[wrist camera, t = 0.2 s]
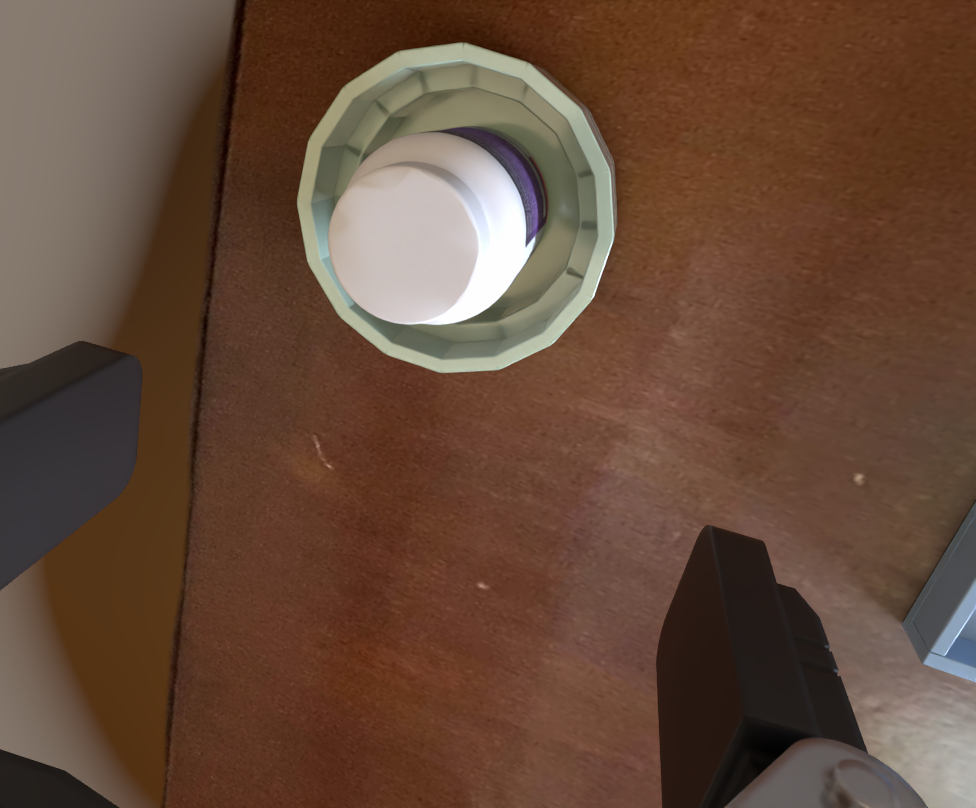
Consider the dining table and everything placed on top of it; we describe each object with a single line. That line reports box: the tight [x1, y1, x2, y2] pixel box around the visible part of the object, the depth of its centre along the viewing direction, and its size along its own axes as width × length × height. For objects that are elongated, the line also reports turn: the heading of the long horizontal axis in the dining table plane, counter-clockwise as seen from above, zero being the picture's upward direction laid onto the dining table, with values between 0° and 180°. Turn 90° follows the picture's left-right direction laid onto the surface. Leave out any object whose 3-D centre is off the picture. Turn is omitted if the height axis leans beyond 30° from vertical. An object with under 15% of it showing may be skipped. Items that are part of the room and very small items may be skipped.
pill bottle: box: [328, 126, 549, 325], centre depth 25 cm, size 5×5×10 cm
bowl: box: [297, 42, 617, 373], centre depth 27 cm, size 10×10×4 cm
